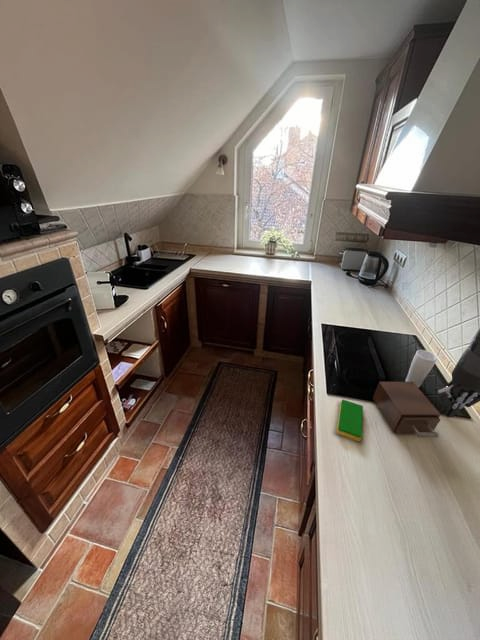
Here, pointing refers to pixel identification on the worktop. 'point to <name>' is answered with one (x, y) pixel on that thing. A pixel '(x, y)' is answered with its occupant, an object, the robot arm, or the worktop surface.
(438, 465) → the worktop surface
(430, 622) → the worktop surface
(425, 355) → the drinking glass
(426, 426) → the drawer
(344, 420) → the dish sponge
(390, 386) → the cabinet
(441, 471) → the worktop surface
